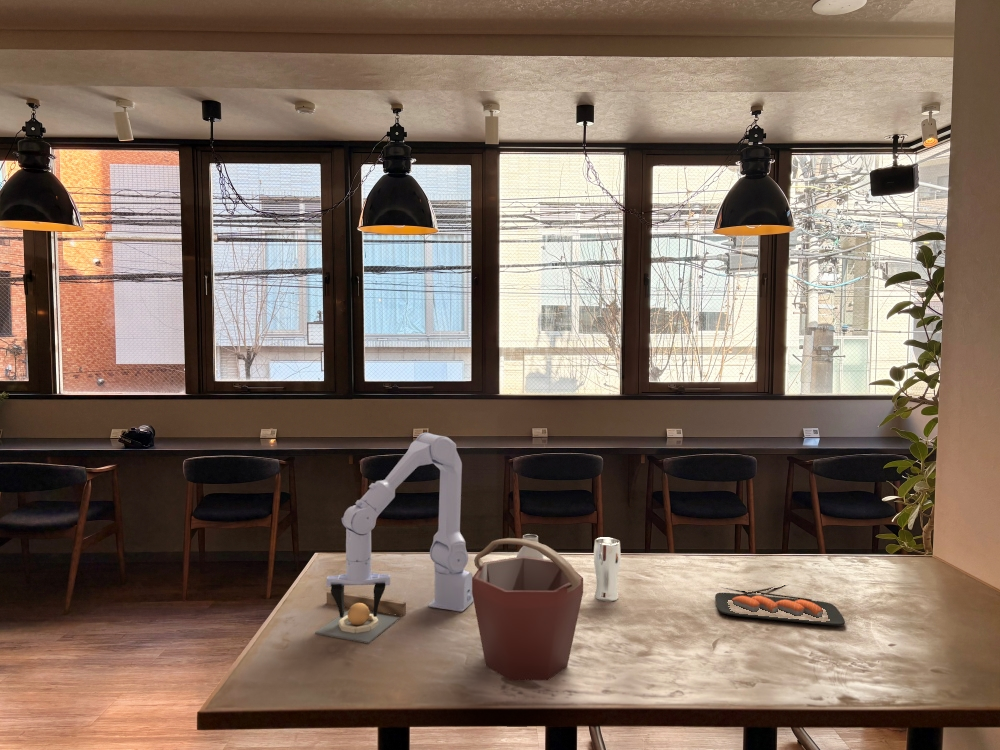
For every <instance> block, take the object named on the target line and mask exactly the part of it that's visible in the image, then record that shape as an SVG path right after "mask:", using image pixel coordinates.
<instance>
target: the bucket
mask: <svg viewBox="0 0 1000 750" xmlns="http://www.w3.org/2000/svg"><path fill="white" fill-rule="evenodd" d="M499 545H519V546H522V547H523V546H526V547H529V548H532V549H535V550H537V551H539V552H540V553H542V555H543V556H545V557H547V558H548V559H545V558H543V559H539V558H532V557H525V556H522V557H517V556H516V557H510V558H505V559H498V560H492V561H491V560H490V561H486V562H483V561H482V560H481V559H482V558H484V557H486V556H487V555H489V554H491V553H492V552H493V551H494V550H495V549H497V548H498V546H499ZM473 563H474V566H475V568H476V569H477V571H476V572H475V574H474V575H472V576H473V578H472V595H473V600H474V601H473V605H474V609H475V616H476V620H477V627H478V631H479V636H480V643H481V649H482V653H483V658H484V659H483V660H484V662H485V667H486V668H488V669H490V670H492V671H493V672H494V673H496V674H498V675H500V676H501V677H503V678H505V679H507V680H508V681H549V680H550V679H552V678H553V677H554V676H556V675H557V674H558V673H560V672H561V671H562V670H564V669H565V668H567V667H568V664H569V659H570V655H571V651H572V646H573V642H574V638H575V637H574V636H575V631H576V628H577V622H578V618H579V614H580V608H581V603H582V600H583V594H584V578H583V576H581V574H579V573H578V572H577V571H576V569H575V568H574V567H573V565H572V564H571V563H570V562H568V560H566V558H565V557H563V556H562V555H561V554H560V553H558V552H557V551H556V550H554V549H553V548H551V547H549V546H548V545H546V544H542V543H540V542H539V541H538V542H534V541H530V540H526V539H523V538H513V537H512V538H511V537H507V538H501V539H500V538H499V539H495V540H492V541H491V542H490V543H488V545H486V547H485V548H484V549H483V550H481V551H479V552H478V553H477V554H476V556H475V557H474V562H473Z"/></svg>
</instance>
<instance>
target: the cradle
mask: <svg viewBox="0 0 1000 750" xmlns="http://www.w3.org/2000/svg"><path fill="white" fill-rule="evenodd" d="M348 611H349V609H348V610H345V611H344V616H343V618H340V615H339V616H338V617H336V618H334V619H333V620H331V621H330V622H328V623H327V624H326V625H324V626H322V627H321V628H319V629H318V630H316V631H315V634H316V635H319V636H326V637H329V638H330V637H332V638H337V639H342V640H348V641H352V640H353V641H352V642H358V643H363V642H364V643H365V644H370V643H372V642H373V641H374V640H376V637H377V636H378V635H379V634H380V635H382V634H383V633H384V632H386V631H387V630H388V629H390V628H391V627H392V626H393V625H394V624H395V622H396V621H397V620H398V621H399V620H401V619H400V616H393V615H387V614H382V613H381V614H379V613H377V616H376V617H374V616H373V612H370V615H369V618H368V620H367V621H366V623H364V624H363V625H359V626H357V625H353V624H352V623H351V622H350V621H349V619H348ZM398 621H397V622H398ZM397 622H396V623H397ZM392 624H393V625H392ZM391 625H392V626H391ZM390 626H391V627H390ZM387 628H388V629H387ZM386 629H387V630H386ZM385 630H386V631H385ZM383 631H384V632H383ZM382 632H383V633H382ZM381 633H382V634H381ZM380 635H379V636H380ZM379 636H378V637H379ZM378 637H377V638H378ZM372 640H373V641H372ZM371 641H372V642H371Z"/></svg>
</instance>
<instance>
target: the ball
mask: <svg viewBox="0 0 1000 750" xmlns="http://www.w3.org/2000/svg"><path fill="white" fill-rule="evenodd" d="M348 610H349V611H348ZM348 610H347V611H348V619H349V621H350V622H351V623H352V624H353V625H357V626H359V625H363V624H364V623H366V621H367V620H368V618H369V615H370V613H371V611H369V608H368V607H367V606H366V605H365V604H363V603H356V604H354V605H352V606H351V607H349V609H348Z"/></svg>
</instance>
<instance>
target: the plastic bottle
mask: <svg viewBox="0 0 1000 750" xmlns="http://www.w3.org/2000/svg"><path fill="white" fill-rule="evenodd" d="M522 539H526V540H530V541H534V542H538V543H539V536H538V535H537V534H532V533H531V534H530V533H527V534H524V535H522ZM522 556H525V557H532V558H539V559H544V555H543V554H542V553H540V552H539V551H537V550H535V549H532V548H529V547H526V546H522V547H521V548H520V549H519V551H518V553H517V555H516V557H522Z"/></svg>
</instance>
